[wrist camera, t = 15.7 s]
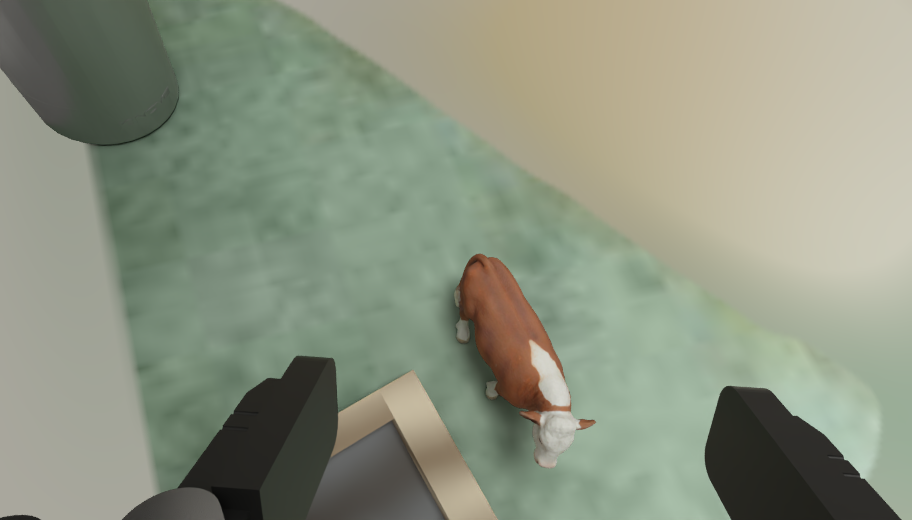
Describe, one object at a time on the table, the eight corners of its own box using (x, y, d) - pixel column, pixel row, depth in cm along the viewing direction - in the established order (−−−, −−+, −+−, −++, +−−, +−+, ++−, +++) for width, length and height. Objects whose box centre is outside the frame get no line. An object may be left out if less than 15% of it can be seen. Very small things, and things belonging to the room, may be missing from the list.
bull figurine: (501, 474, 34) (550, 477, 26) (434, 289, 37) (461, 246, 30) (556, 450, 35) (618, 446, 28) (487, 274, 39) (525, 230, 32)
